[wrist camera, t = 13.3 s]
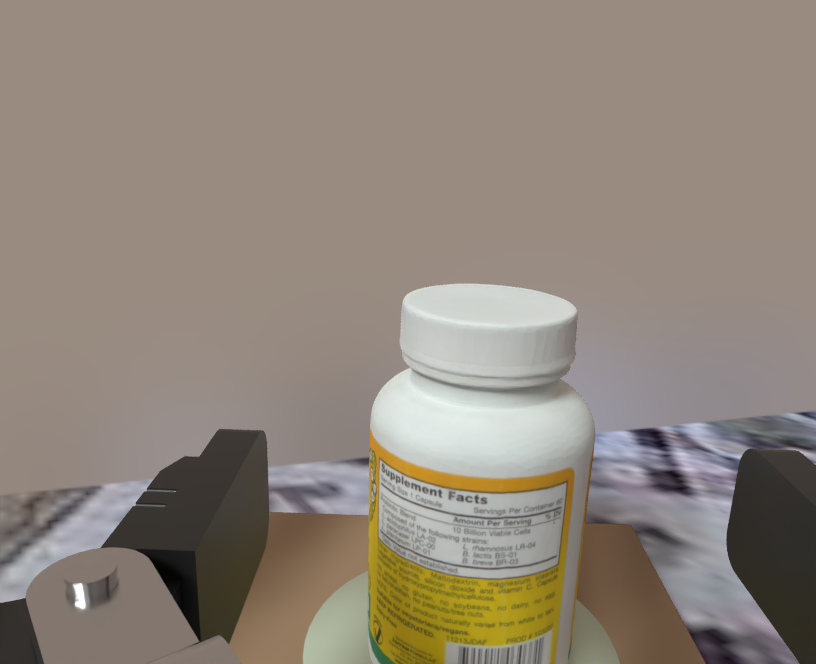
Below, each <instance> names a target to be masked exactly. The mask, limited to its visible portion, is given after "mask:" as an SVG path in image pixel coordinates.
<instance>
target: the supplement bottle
mask: <svg viewBox="0 0 816 664" xmlns="http://www.w3.org/2000/svg"><path fill="white" fill-rule="evenodd" d="M576 329H577V310H576V308H575V306H574V305H572V304H571V303H569V302H568V301H566V300H565V299H562V298H559V297H556V296H554V295H550V294H546V293H543V292H539V291H534V290H529V289H525V288H517V287H510V286H500V285H488V284H449V285H439V286H431V287H426V288H421V289H418V290H415V291H413V292H411V293H409V294H407V295H406V296H405V298H404V300H403V303H402V314H401V332H400V333H401V334H400V347H401V349H402V351H403V352H402V354H403V359H404V360H405V362H406V363H407V364H408V365H409V366H410V367H411V368H409V369H407V370H405V371H402V372H401V373H399V374H397V375H396V376H395V377H393V378H392V379H391V380H390V381H388V382H387V383H386V384H385V386H384V387H383V388H382V389H381V390H380V392H379V394H378V396H377V397H376V399H375V402H374V404H373V408H372V413H371V423H370V453H369V553H368V644H369V652H370V658H371V661H372V663H373V664H568V663H569V656H570V650H571V644H572V631H573V622H574V616H575V607H576V597H577V588H578V579H579V571H580V563H581V554H582V544H583V535H584V526H585V518H586V510H587V501H588V493H589V485H590V477H591V469H592V461H593V452H594V442H595V426H594V420H593V417H592V414H591V411H590V409H589V407H588V406H587V403H586V402H585V400H584V399H583V398H582V396H581V395H580V394H579V393H578V392H577V391H576V390H575V389H574V388H573V387H571V386H570V385H569V384H567V383H566V382H564V381H563V380H561V379H560V378H562V377H563V376H565V375H566V374H567V372H568V371H569V369H570V365H571V363H572V362H573V361H574V359H575V355H576V352H575V341H576Z"/></svg>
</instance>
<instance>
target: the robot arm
mask: <svg viewBox="0 0 816 664" xmlns="http://www.w3.org/2000/svg"><path fill="white" fill-rule="evenodd" d="M268 528H269V494H268V461H267V440H266V435H265V432H264V431H261V430H232V429H219V430H218V431H217V432H216V434H215V435H214V436H213V438H212V439H211V441H210V442H209V444H208V445H207V446H206V448H205V449H204V451H203V452H202V454H201V455H200V457H188V456H186V457H183V458H181V459H180V460H178V461H176V462H174V463H173V464H171V465H170V466H168V467H166V468H164V469H163V470H161V471H160V472H159V474H158V475H157V476H156V477H155V479H154V480H153V481H152V482H151V484H150V485H149V486H148V488H147V492H144V493H143V494H142V495H141V497H140V498H139V499H138V500H137V502H136V506H133V507H132V508H131V509H130V511H129V512H128V513H127V515H126V516H125V517H124V518H123V520H122V521H121V522H120V524H119V525H118V526H117V527H116V529H115V530H114V531H113V533H112V534H111V535H110V536H109V538H108V539H107V540H106V542H105V543H104V544H103V545H102V547H101V548H98V549H92V550H88V551H84V552H80V553H77V554H74V555H71V556H68V557H66V558H64V559H61V560H59V561H57V562H56V563H54V564H52V565H50V566H49V567H47V568H46V569H45V570H43V571H42V572H41V573H40V574H39V575H37V576H36V577H35V579H34V580H33V581H32V582H31V584H30V585H29V587H28V589H27V593H26V598H24V599H20V600H15V601H10V602H4V603H0V664H241V663H240V661H239V659H238V658H237V656H236V655H235V653H234V652H233V650H232V649H231V647H230V646H229V644H230V641H231V638H232V636H233V633H234V630H235V628H236V625H237V622H238V620H239V617H240V615H241V612H242V609H243V607H244V604H245V601H246V599H247V596H248V593H249V591H250V588H251V586H252V583H253V580H254V578H255V575H256V572H257V570H258V567H259V564H260V562H261V559H262V557H263V554H264V551H265V547H266V542H267V536H268ZM727 552H728V557H729V560H730V563H731V566H732V568H733V570H734V572H735V573H736V575H737V576H738V577H739V579H740V580H741V582H742V583H743V584H744V586H745V587H746V589H747V590H748V591H749V593H750V594H751V596H752V597H753V598H754V600H755V601H756V603H757V604H758V605H759V607H760V608H761V610H762V611H763V612H764V614H765V615H766V617H767V618H768V619H769V621H770V622H771V624H772V625H773V626H774V628H775V629H776V631H777V632H778V633H779V635H780V636H781V638H782V639H783V640H784V642H785V643H786V645H787V646H788V647H789V649H790V650H791V652H792V653H793V654H794V656H795V657H796V659H797V660H798V661H799V663H800V664H816V465H815V464H814V463H812V462H811V461H810V460H809V459H808V458H806V457H805V456H804V455H803V454H802V453H800V452H799V451H796V450H767V449H748V450H747V451H745V452H744V454H743V455H742V457H741V460H740V463H739V468H738V473H737V479H736V484H735V490H734V496H733V501H732V507H731V512H730V518H729V523H728V529H727Z"/></svg>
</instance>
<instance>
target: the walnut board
mask: <svg viewBox="0 0 816 664" xmlns="http://www.w3.org/2000/svg"><path fill="white" fill-rule="evenodd" d="M368 553H369V516H368V515H339V514H311V513H282V512H270V514H269V528H268V536H267V542H266V547H265V551H264V554H263V557H262V559H261V562H260V564H259V567H258V570H257V572H256V575H255V578H254V580H253V583H252V586H251V588H250V591H249V593H248V596H247V599H246V601H245V604H244V607H243V609H242V612H241V615H240V617H239V620H238V622H237V625H236V628H235V630H234V633H233V636H232V638H231V641H230V644H229V646H230V647H231V649H232V650H233V652H234V653H235V655H236V656H237V658H238V659H239V661H240V663H241V664H373V663H372V661H371V658H370V652H369V644H368ZM568 664H706V663H705V661H704V660H703V658H702V656H701V654H700V652H699V650H698V648H697V647H696V645H695V643H694V641H693V639H692V637H691V635H690V634H689V632H688V630H687V628H686V626H685V624H684V622H683V621H682V619H681V617H680V615H679V613H678V611H677V609H676V608H675V606H674V604H673V602H672V600H671V598H670V597H669V595H668V593H667V591H666V589H665V587H664V585H663V584H662V582H661V580H660V578H659V576H658V574H657V572H656V571H655V569H654V567H653V565H652V563H651V561H650V559H649V558H648V556H647V554H646V552H645V550H644V548H643V546H642V545H641V543H640V541H639V539H638V537H637V535H636V533H635V532H634V530H633V528H632V526H631V525H625V524H596V523H585V526H584V535H583V544H582V554H581V563H580V571H579V579H578V588H577V597H576V607H575V616H574V622H573V631H572V644H571V650H570V656H569V663H568Z"/></svg>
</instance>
